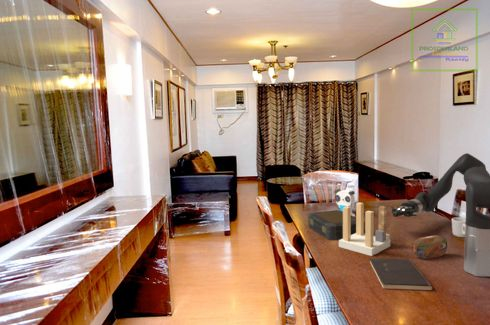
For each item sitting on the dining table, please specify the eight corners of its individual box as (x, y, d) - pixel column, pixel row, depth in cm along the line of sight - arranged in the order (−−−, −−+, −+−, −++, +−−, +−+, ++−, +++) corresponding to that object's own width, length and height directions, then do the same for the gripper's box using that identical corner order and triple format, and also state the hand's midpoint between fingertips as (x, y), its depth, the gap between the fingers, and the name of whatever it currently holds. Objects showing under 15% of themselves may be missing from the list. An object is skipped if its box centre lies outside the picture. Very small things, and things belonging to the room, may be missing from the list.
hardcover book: (382, 290, 119) (382, 283, 119) (368, 263, 142) (368, 257, 142) (433, 292, 117) (433, 285, 117) (411, 264, 139) (411, 258, 139)
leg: (386, 239, 158) (386, 206, 156) (383, 241, 156) (383, 207, 155) (381, 238, 160) (381, 206, 158) (378, 239, 158) (378, 206, 156)
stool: (392, 245, 159) (392, 206, 157) (371, 256, 148) (372, 213, 146) (359, 237, 171) (360, 200, 169) (338, 246, 160) (338, 207, 158)
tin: (417, 260, 142) (417, 240, 141) (411, 257, 145) (411, 237, 144) (447, 255, 146) (448, 235, 145) (441, 252, 149) (442, 233, 148)
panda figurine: (330, 215, 213) (330, 190, 211) (341, 211, 220) (341, 187, 219) (348, 218, 204) (348, 193, 202) (358, 214, 211) (358, 190, 210)
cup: (476, 240, 161) (476, 223, 160) (457, 240, 163) (457, 223, 162) (466, 233, 172) (467, 217, 171) (448, 233, 173) (449, 217, 172)
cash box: (367, 236, 173) (367, 221, 172) (329, 241, 168) (329, 225, 167) (340, 222, 197) (340, 209, 196) (307, 226, 192) (306, 212, 191)
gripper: (398, 198, 181) (381, 204, 169) (425, 202, 171) (409, 209, 159) (398, 212, 181) (381, 219, 170) (425, 217, 171) (409, 225, 160)
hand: (394, 214), depth 165 cm, fingers closed
